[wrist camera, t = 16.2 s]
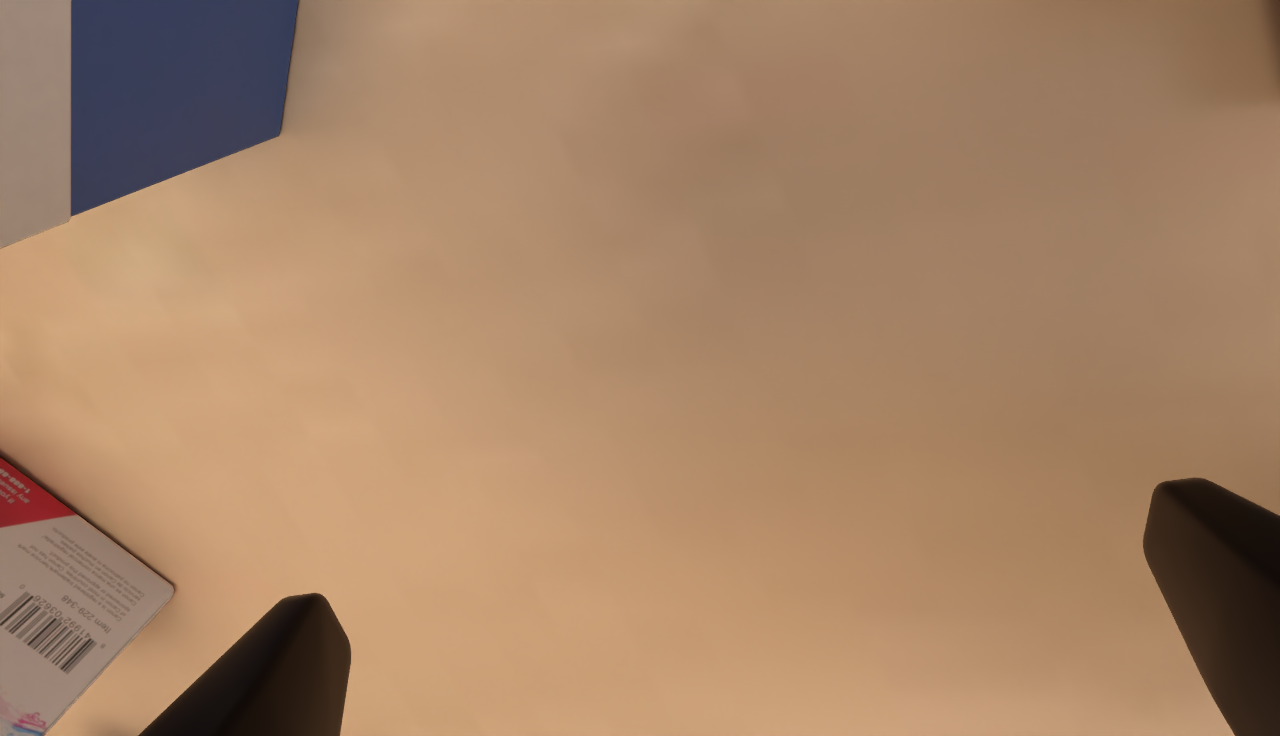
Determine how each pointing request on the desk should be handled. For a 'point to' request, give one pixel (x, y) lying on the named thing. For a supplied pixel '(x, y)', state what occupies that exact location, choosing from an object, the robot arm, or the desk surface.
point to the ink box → (61, 604)
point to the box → (129, 97)
